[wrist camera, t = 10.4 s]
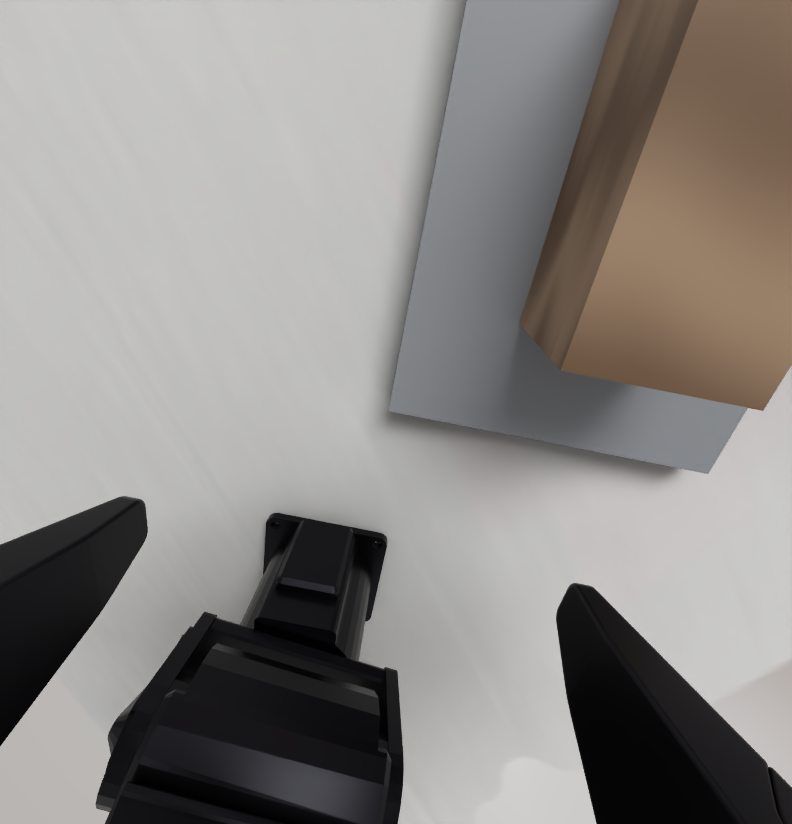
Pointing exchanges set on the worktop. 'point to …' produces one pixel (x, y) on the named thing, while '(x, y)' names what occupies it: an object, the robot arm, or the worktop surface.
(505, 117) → the pin board
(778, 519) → the worktop surface
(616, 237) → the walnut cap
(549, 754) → the worktop surface
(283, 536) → the robot arm
